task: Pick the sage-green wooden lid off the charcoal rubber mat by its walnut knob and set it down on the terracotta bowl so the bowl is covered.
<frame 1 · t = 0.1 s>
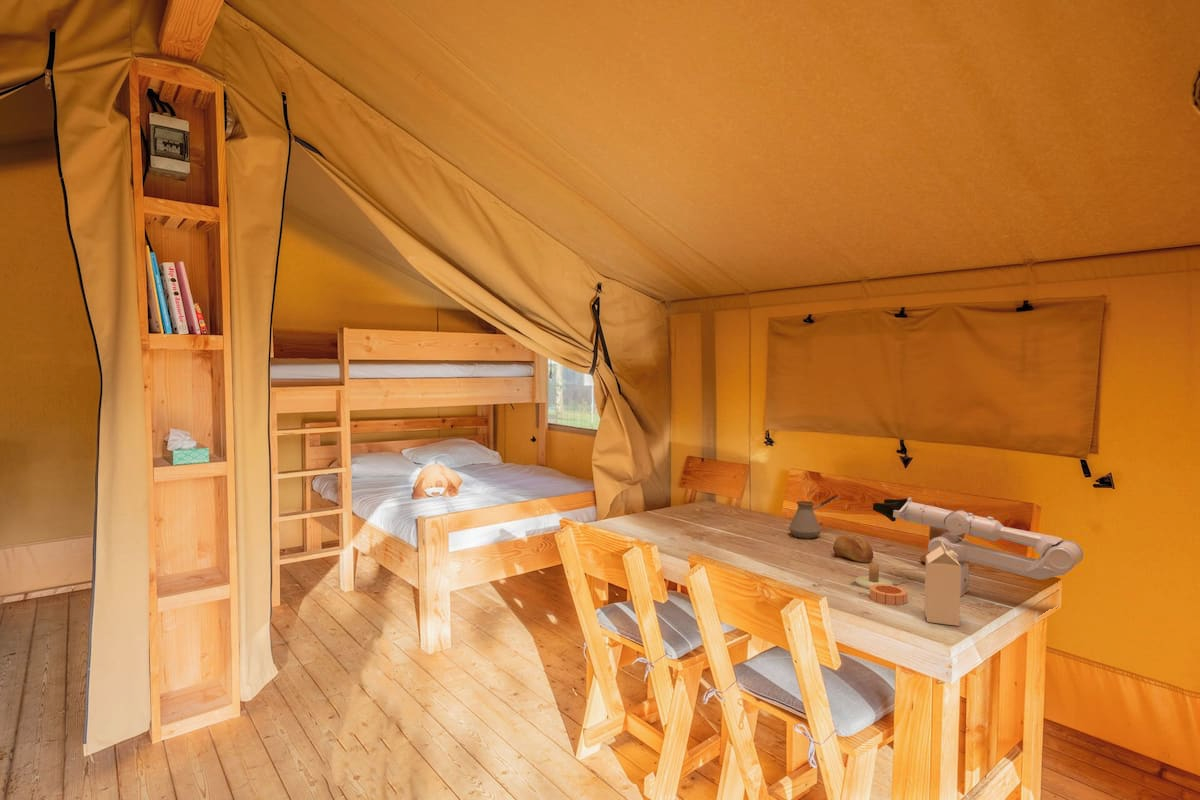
hand: (878, 504, 201), 22 cm above the table, tool horizontal, fingers open, 7 cm apart
bread roll: (852, 559, 218), on the table
coffee pot: (815, 535, 249), on the table
bowl: (888, 600, 179), on the table
mat: (873, 586, 191), on the table
milk carton: (941, 620, 165), on the table
lid: (873, 584, 191), resting on mat
stone cup: (946, 565, 212), on the table
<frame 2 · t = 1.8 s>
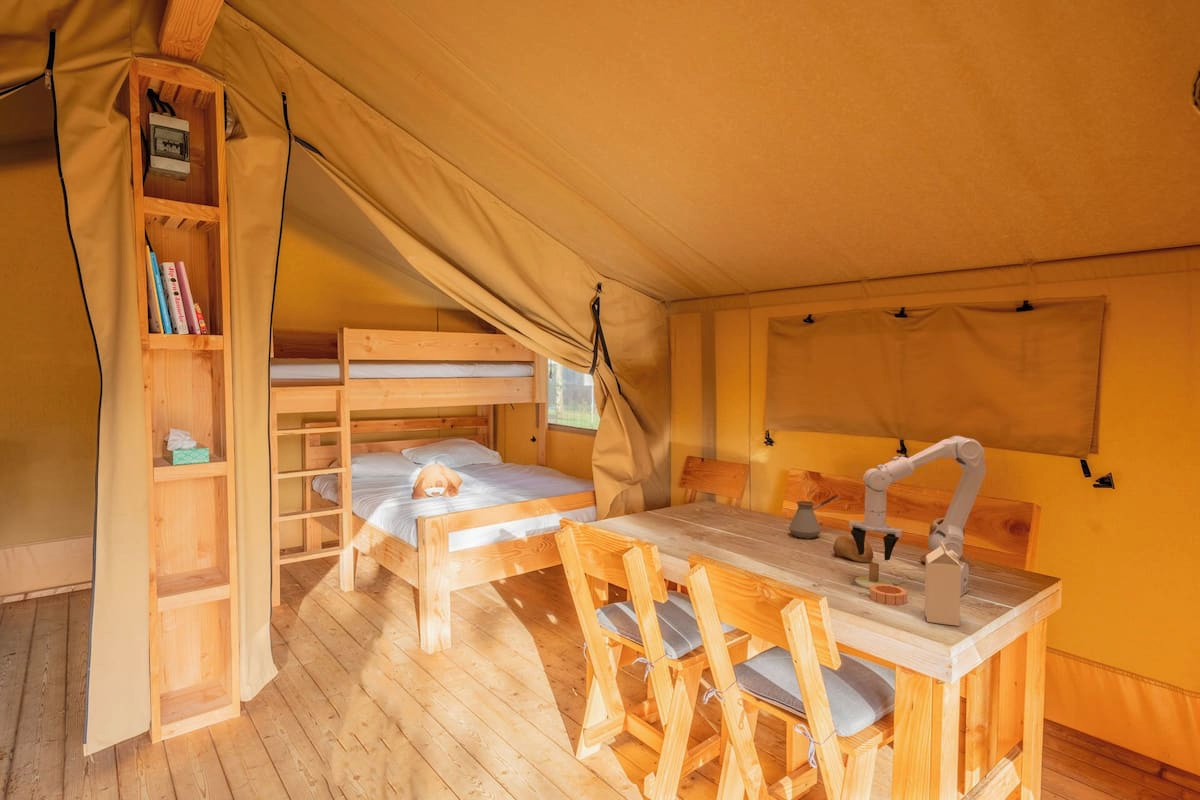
hand: (874, 556, 190), 9 cm above the table, tool pointing down, fingers open, 7 cm apart
nothing on the table moved.
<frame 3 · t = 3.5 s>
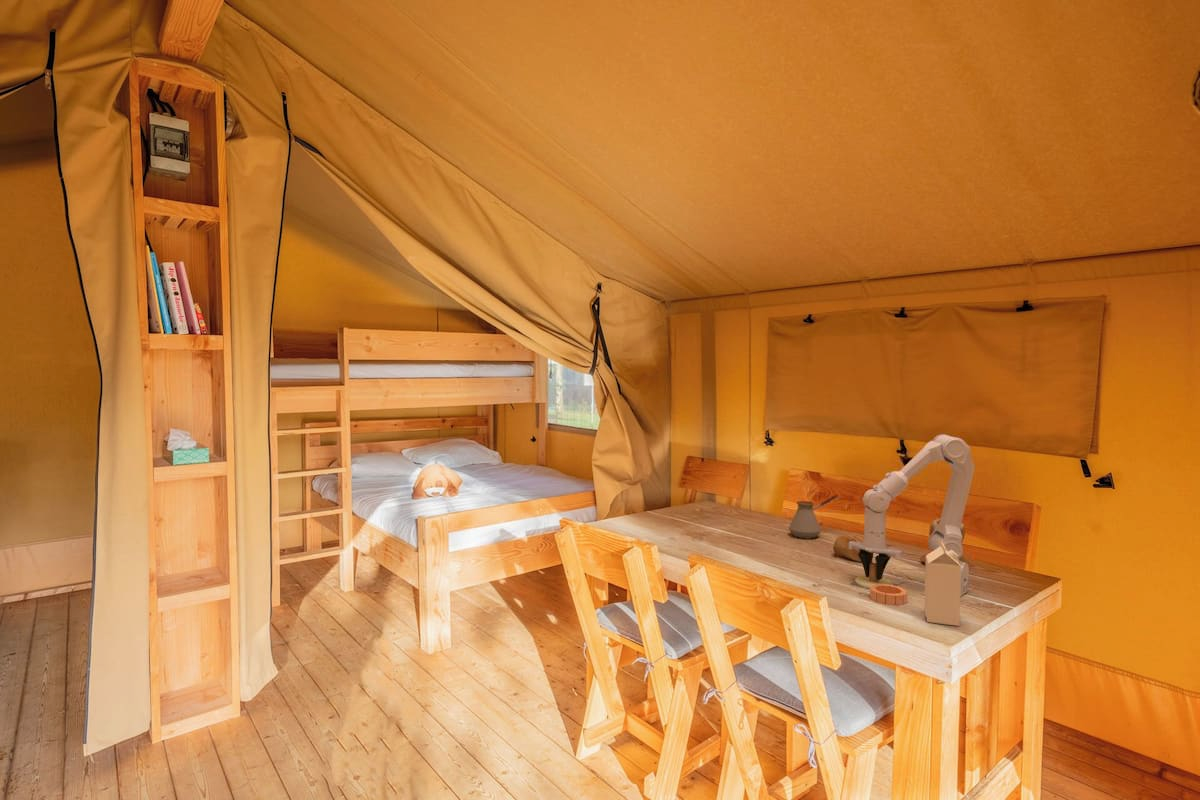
hand: (873, 577, 191), 2 cm above the table, tool pointing down, fingers closed on lid, 3 cm apart
lid: (873, 584, 191), resting on mat, touching gripper
everything else where it was.
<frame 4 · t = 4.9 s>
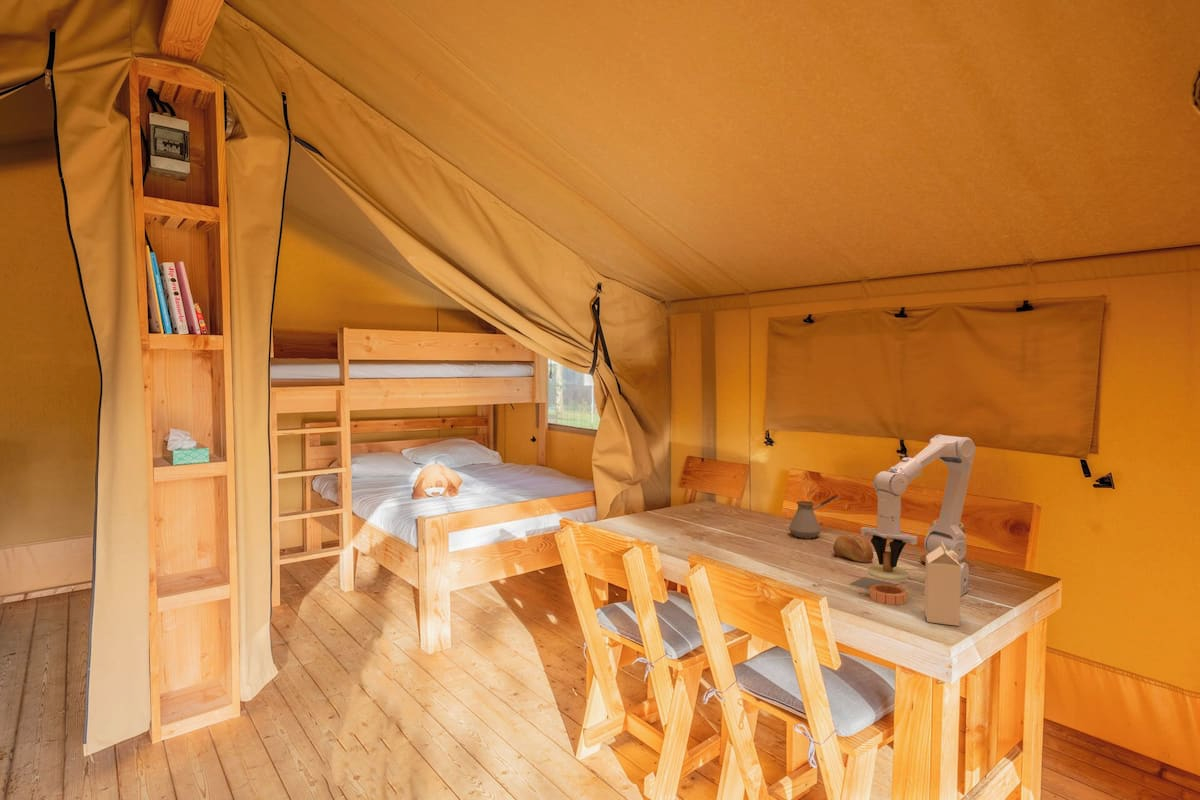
hand: (887, 565, 179), 9 cm above the table, tool pointing down, fingers closed on lid, 3 cm apart
lid: (887, 574, 179), point 7 cm above the table, touching gripper
everything else where it was.
when the fingers open (6 cm above the table, at t = 6.3 s): lid stays where it is, resting on bowl.
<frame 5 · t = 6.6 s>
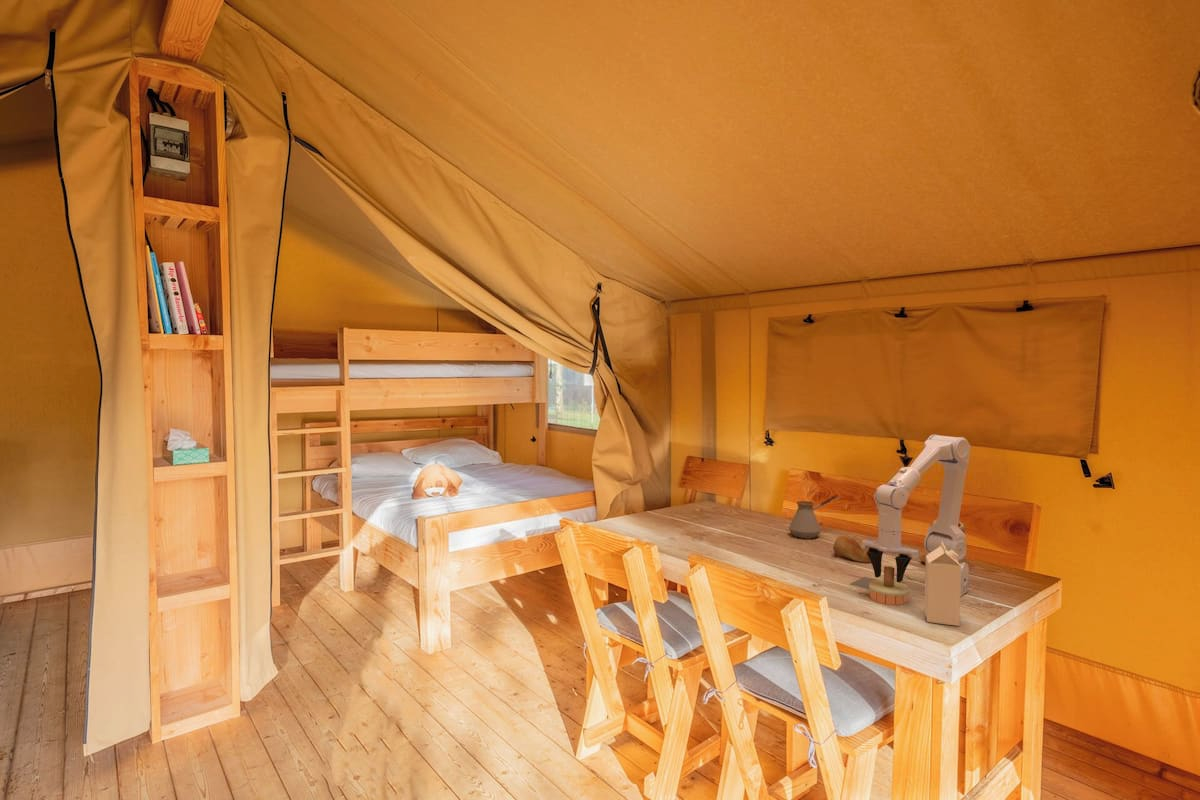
hand: (888, 579, 178), 6 cm above the table, tool pointing down, fingers open, 5 cm apart
lid: (888, 589, 179), point 3 cm above the table, touching bowl
everything else where it was.
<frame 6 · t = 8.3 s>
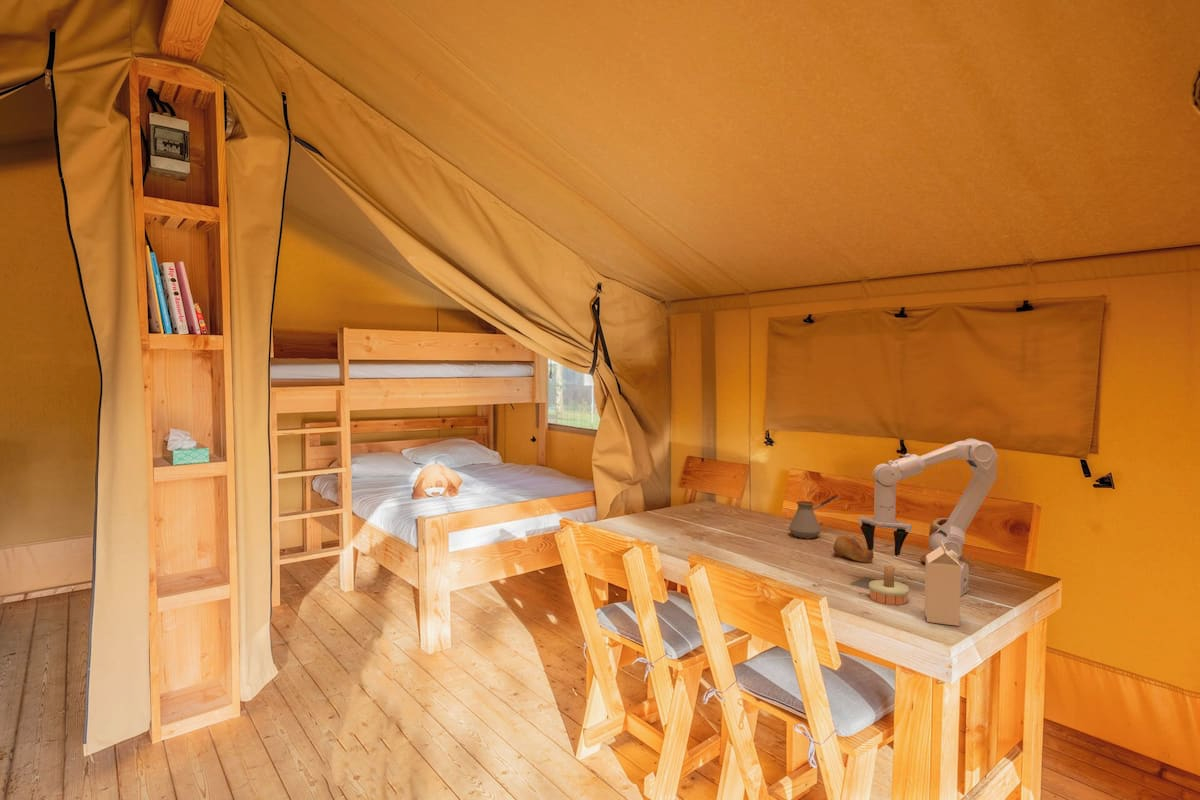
hand: (883, 552, 191), 10 cm above the table, tool pointing down, fingers open, 7 cm apart
nothing on the table moved.
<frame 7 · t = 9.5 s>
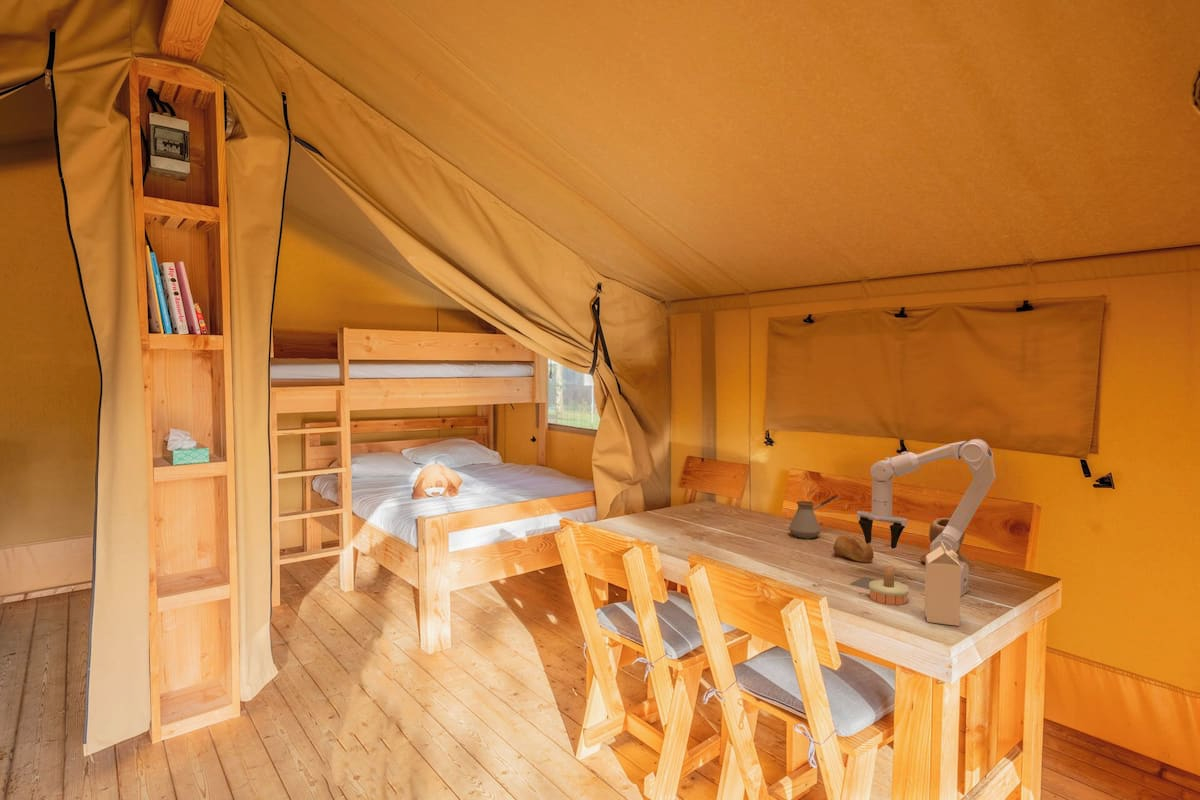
hand: (880, 545, 198), 10 cm above the table, tool pointing down, fingers open, 7 cm apart
nothing on the table moved.
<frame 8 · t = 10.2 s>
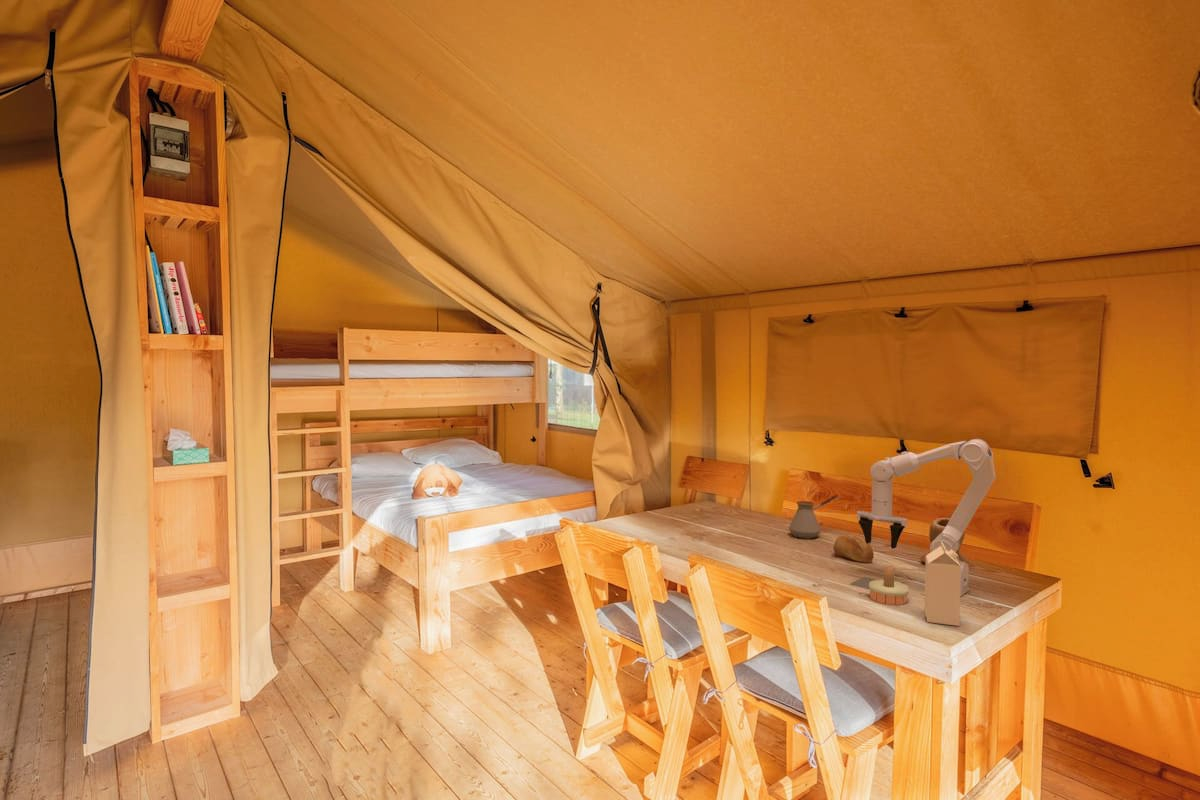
hand: (880, 545, 198), 10 cm above the table, tool pointing down, fingers open, 7 cm apart
nothing on the table moved.
at the end: lid 0.2 cm off-centre on the bowl, point 3.0 cm above the bowl's base; lid tilted 0°; the gripper is holding nothing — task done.
